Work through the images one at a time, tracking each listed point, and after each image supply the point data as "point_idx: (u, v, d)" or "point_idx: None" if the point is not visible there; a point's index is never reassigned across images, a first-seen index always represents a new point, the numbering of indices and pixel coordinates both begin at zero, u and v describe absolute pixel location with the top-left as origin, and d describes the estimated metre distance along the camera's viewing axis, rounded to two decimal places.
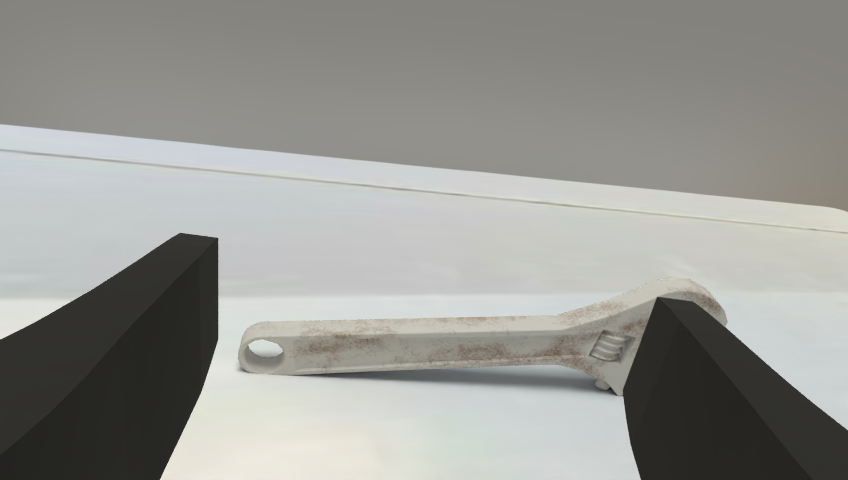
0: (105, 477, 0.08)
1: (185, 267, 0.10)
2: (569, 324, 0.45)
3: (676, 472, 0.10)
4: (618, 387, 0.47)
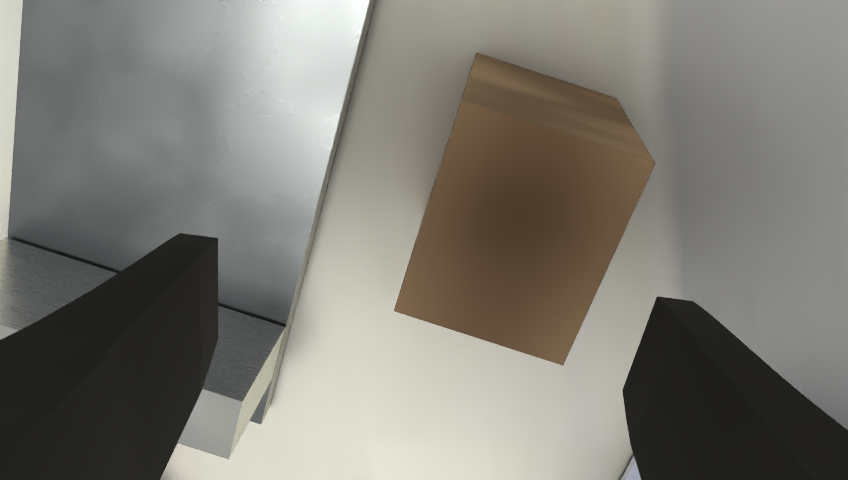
0: (105, 477, 0.08)
1: (185, 267, 0.10)
2: None
3: (677, 472, 0.10)
4: None
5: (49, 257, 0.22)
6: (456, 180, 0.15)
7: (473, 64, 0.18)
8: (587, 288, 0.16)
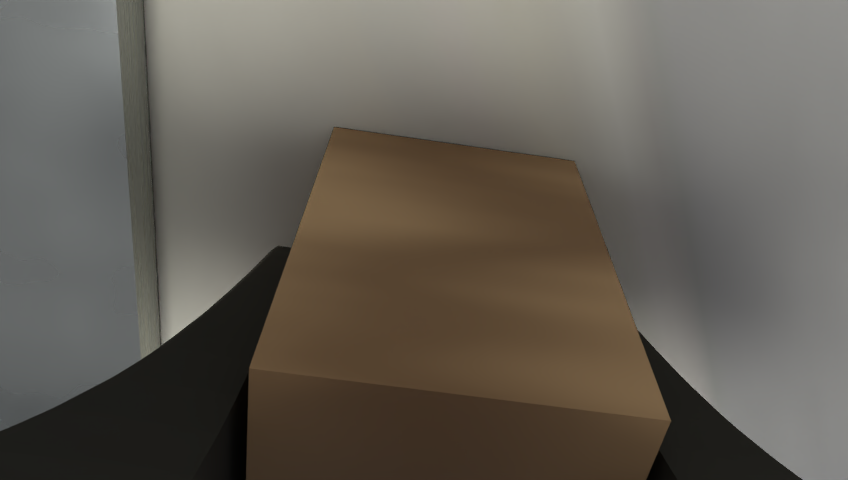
0: None
1: None
2: None
3: None
4: None
5: None
6: None
7: (317, 175, 0.10)
8: None
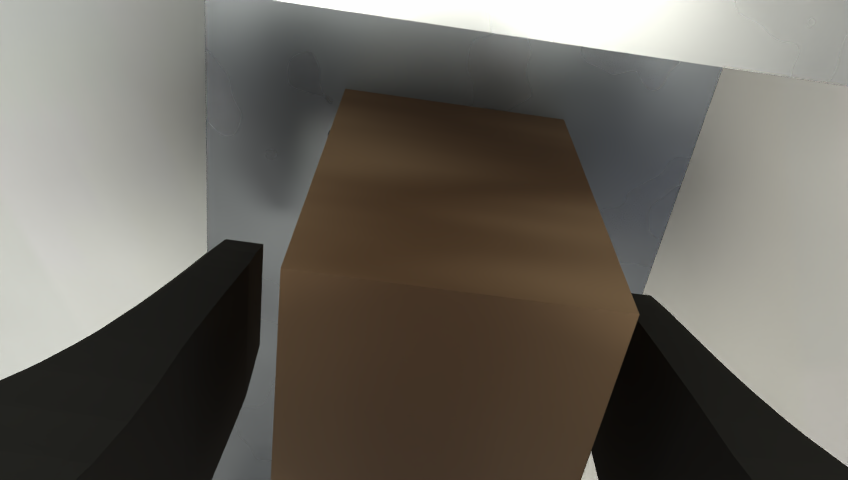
0: None
1: (237, 274, 0.10)
2: None
3: (628, 467, 0.10)
4: None
5: None
6: (307, 384, 0.09)
7: (332, 126, 0.12)
8: None
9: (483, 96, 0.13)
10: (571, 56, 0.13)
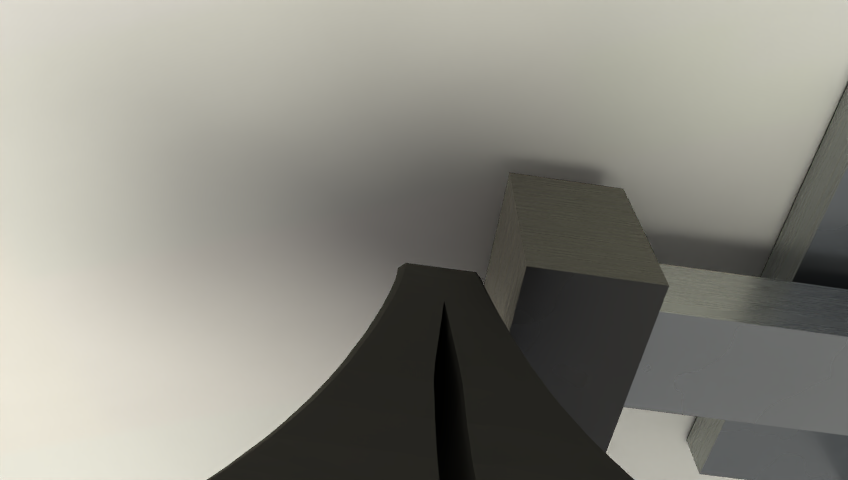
0: None
1: (441, 300, 0.10)
2: None
3: None
4: None
5: None
6: None
7: None
8: None
9: None
10: None
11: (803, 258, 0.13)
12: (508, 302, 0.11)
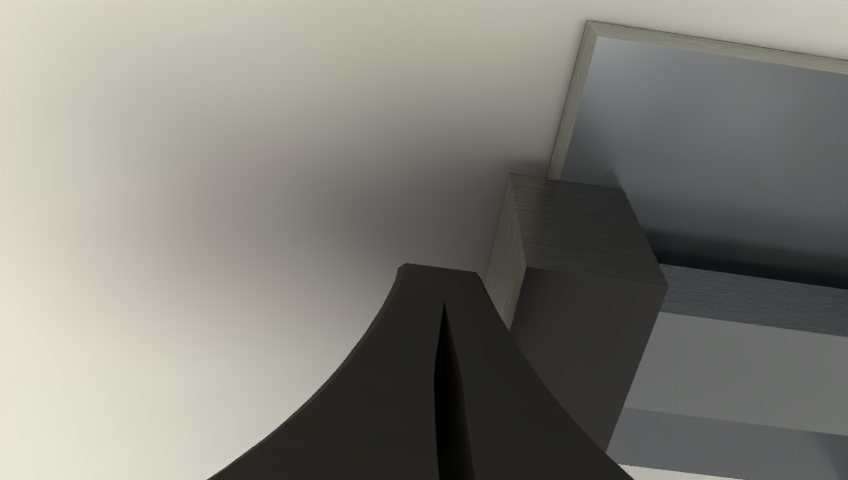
0: None
1: (441, 301, 0.10)
2: None
3: None
4: None
5: None
6: None
7: None
8: None
9: None
10: None
11: None
12: (508, 302, 0.11)
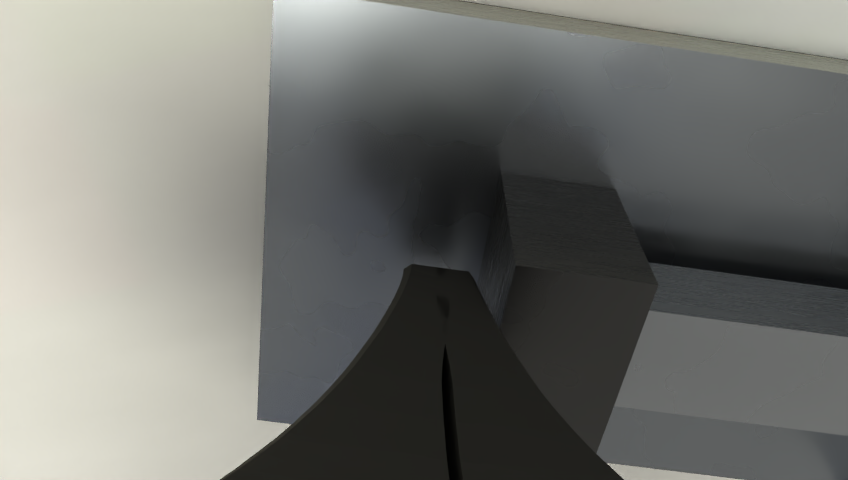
0: None
1: (448, 301, 0.10)
2: None
3: None
4: None
5: None
6: None
7: None
8: None
9: None
10: None
11: (267, 184, 0.13)
12: (498, 301, 0.11)
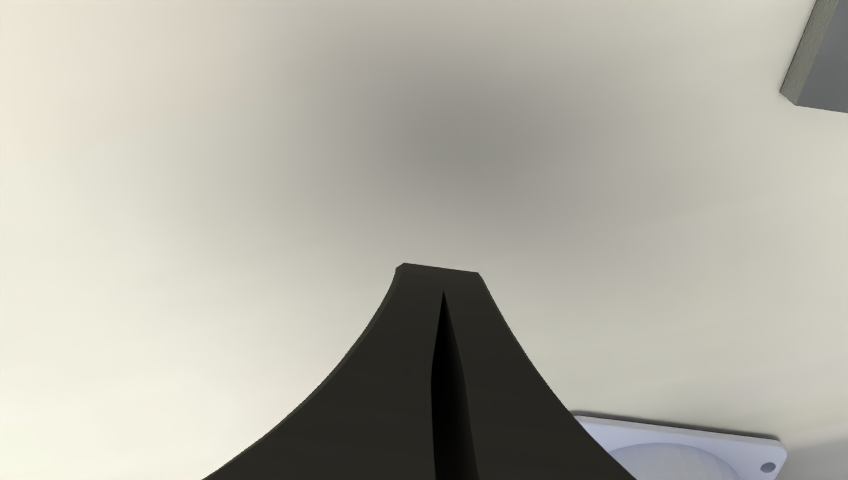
0: None
1: (439, 301, 0.10)
2: None
3: (433, 443, 0.10)
4: None
5: None
6: None
7: None
8: None
9: None
10: None
11: None
12: None
